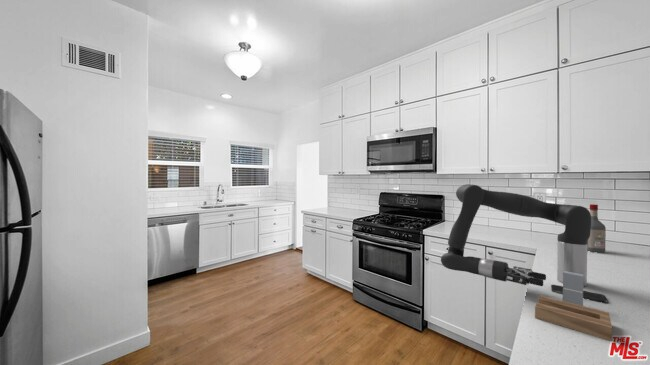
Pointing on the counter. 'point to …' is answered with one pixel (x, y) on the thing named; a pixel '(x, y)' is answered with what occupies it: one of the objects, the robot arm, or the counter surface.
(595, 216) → the liquor
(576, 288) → the domino
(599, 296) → the phone
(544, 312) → the rack
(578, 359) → the counter surface
